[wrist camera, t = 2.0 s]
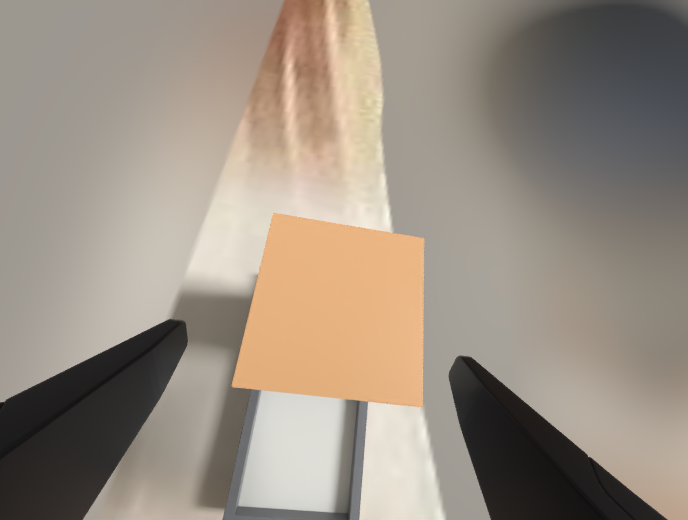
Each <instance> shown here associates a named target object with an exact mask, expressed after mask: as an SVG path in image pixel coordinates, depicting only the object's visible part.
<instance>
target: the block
mask: <svg viewBox="0 0 688 520" xmlns="http://www.w3.org/2000/svg"><path fill="white" fill-rule="evenodd" d="M423 295H424V238H419V237H413V236H407V235H401V234H395V233H389V232H383V231H377V230H372V229H366V228H360V227H354V226H348V225H342V224H336V223H330V222H324V221H318V220H312V219H306V218H300V217H294V216H288V215H283V214H277V213H273V216H272V220H271V224H270V228H269V233H268V237H267V241H266V245H265V249H264V253H263V258H262V262H261V266H260V270H259V274H258V278H257V282H256V287H255V291H254V295H253V299H252V303H251V307H250V312H249V316H248V320H247V324H246V328H245V332H244V336H243V341H242V345H241V349H240V353H239V357H238V361H237V366H236V370H235V374H234V378H233V382H232V386H231V387H236V388H245V389H255V390H264V391H273V392H283V393H292V394H302V395H311V396H320V397H330V398H339V399H348V400H358V401H367V402H376V403H386V404H395V405H405V406H414V407H423V304H424V303H423V301H424V298H423V297H424V296H423Z"/></svg>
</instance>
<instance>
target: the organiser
mask: <svg viewBox="0 0 688 520" xmlns="http://www.w3.org/2000/svg"><path fill="white" fill-rule="evenodd" d="M367 406H368V402H367V401H358V400H348V399H339V398H330V397H320V396H311V395H302V394H292V393H283V392H273V391H264V390H255V389H251V392H250V396H249V401H248V405H247V410H246V415H245V419H244V424H243V429H242V433H241V438H240V442H239V447H238V452H237V456H236V461H235V466H234V470H233V475H232V479H231V484H230V489H229V493H228V498H227V503H226V507H225V512H224V516H223V520H359V514H360V500H361V487H362V474H363V460H364V447H365V433H366V420H367Z"/></svg>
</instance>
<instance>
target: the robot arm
mask: <svg viewBox="0 0 688 520" xmlns="http://www.w3.org/2000/svg"><path fill="white" fill-rule="evenodd" d="M187 342H188V338H187V330H186V323H185V322H184V321H183V320H176V319H169V320H167V321H165V322H163V323H161V324H159V325H156V326H155V327H152V328H150V329H148V330H147V331H144V332H142V333H140V334H138V335H136V336H134V337H133V338H130V339H128V340H127V341H124V342H122V343H120V344H118V345H116V346H114V347H112V348H110V349H108V350H106V351H104V352H102V353H100V354H98V355H96V356H94V357H92V358H90V359H88V360H86V361H84V362H82V363H80V364H77V365H75V366H73V367H71V368H70V369H67V370H65V371H64V372H61V373H59V374H57V375H55V376H53V377H51V378H49V379H47V380H46V381H43V382H41V383H39V384H37V385H35V386H33V387H31V388H29V389H27V390H25V391H23V392H21V393H19V394H17V395H15V396H13V397H11V398H9V399H7V400H6V401H5V402H0V520H83V518H84V517H85V515H86V514H87V512H88V511H89V509H90V507H91V505H92V504H93V502H94V501H95V499H96V498H97V496H98V495H99V493H100V492H101V490H102V489H103V487H104V485H105V484H106V482H107V481H108V479H109V478H110V476H111V474H112V473H113V471H114V470H115V468H116V467H117V465H118V463H119V462H120V460H121V459H122V457H123V456H124V454H125V452H126V451H127V449H128V448H129V446H130V445H131V443H132V441H133V440H134V438H135V437H136V435H137V434H138V432H139V431H140V429H141V427H142V426H143V424H144V423H145V421H146V420H147V418H148V416H149V415H150V413H151V412H152V410H153V409H154V407H155V405H156V404H157V402H158V401H159V399H160V397H161V396H162V394H163V392H164V390H165V388H166V386H167V384H168V382H169V380H170V378H171V376H172V374H173V372H174V370H175V368H176V366H177V365H178V363H179V361H180V359H181V357H182V355H183V353H184V351H185V349H186V346H187ZM449 381H450V385H451V390H452V394H453V398H454V403H455V407H456V411H457V416H458V420H459V424H460V427H461V430H462V434H463V437H464V439H465V443H466V446H467V448H468V452H469V455H470V457H471V461H472V464H473V467H474V470H475V473H476V476H477V479H478V482H479V485H480V488H481V491H482V494H483V497H484V500H485V503H486V506H487V509H488V512H489V515H490V518H491V520H667V519H666V518H665V517H664V516H662V515H661V514H660V513H658V512H657V511H656V510H655V509H653V508H652V507H651V506H650V505H648V504H647V503H646V502H644V501H643V500H642V499H641V498H639V497H638V496H637V495H635V494H634V493H633V492H632V491H631V490H629V489H628V488H627V487H626V486H624V485H623V484H622V483H621V482H620V481H618V480H617V479H616V478H615V477H614V476H612V475H611V474H610V473H609V472H607V471H606V470H605V469H604V468H603V467H602V466H600V465H599V464H598V463H597V462H596V461H594V460H593V459H592V458H591V457H588V455H587V454H586V453H585V452H584V451H582V450H581V449H580V448H579V447H578V446H576V445H575V444H574V443H573V442H572V441H570V440H569V439H568V438H567V437H566V436H564V435H563V434H562V433H561V432H560V431H559V430H557V429H556V428H555V427H554V426H552V425H551V424H550V423H549V422H548V421H547V420H545V419H544V418H543V417H542V416H541V415H539V414H538V413H537V412H536V411H535V410H534V409H532V408H531V407H530V406H529V405H528V404H526V403H525V402H524V401H523V400H521V399H520V398H519V397H518V396H517V395H516V394H514V393H513V392H512V391H511V390H510V389H508V388H507V387H506V386H505V385H504V384H503V383H501V382H500V381H499V380H498V379H497V378H495V377H494V376H493V375H492V374H490V373H489V372H488V371H487V370H486V369H485V368H483V367H482V366H481V365H480V364H479V363H477V362H476V361H475V360H474V359H473V358H471V357H467V356H458V357H457V358H456V360H455V362H454V364H453V366H452V367H451V370H450V372H449Z"/></svg>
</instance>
